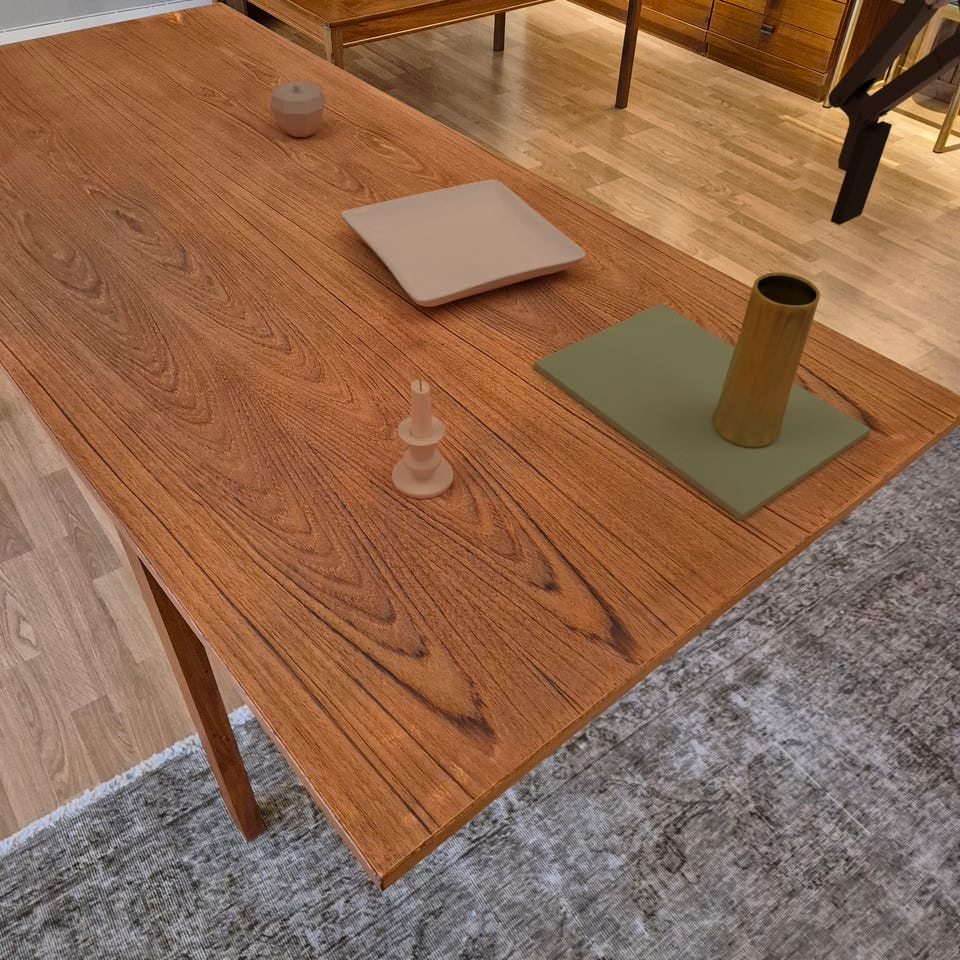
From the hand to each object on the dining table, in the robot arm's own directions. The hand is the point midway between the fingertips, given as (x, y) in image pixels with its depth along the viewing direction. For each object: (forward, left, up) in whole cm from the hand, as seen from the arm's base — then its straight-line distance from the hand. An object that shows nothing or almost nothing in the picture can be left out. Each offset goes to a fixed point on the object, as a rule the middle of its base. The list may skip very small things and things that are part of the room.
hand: (931, 257), depth 60 cm
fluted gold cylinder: (+6, +8, -22) cm, 24 cm away
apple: (+53, +74, -23) cm, 94 cm away
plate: (+27, +42, -23) cm, 55 cm away
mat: (+9, +13, -23) cm, 27 cm away
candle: (-9, +34, -23) cm, 42 cm away
